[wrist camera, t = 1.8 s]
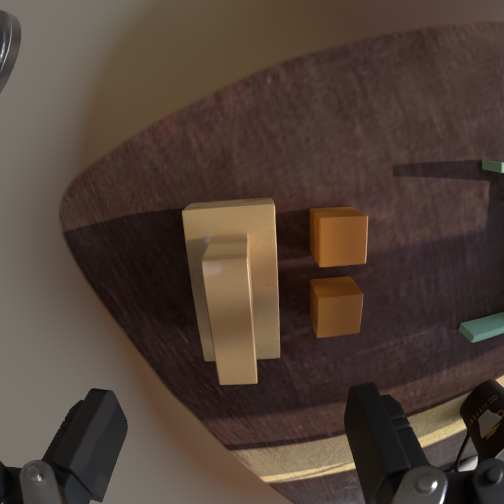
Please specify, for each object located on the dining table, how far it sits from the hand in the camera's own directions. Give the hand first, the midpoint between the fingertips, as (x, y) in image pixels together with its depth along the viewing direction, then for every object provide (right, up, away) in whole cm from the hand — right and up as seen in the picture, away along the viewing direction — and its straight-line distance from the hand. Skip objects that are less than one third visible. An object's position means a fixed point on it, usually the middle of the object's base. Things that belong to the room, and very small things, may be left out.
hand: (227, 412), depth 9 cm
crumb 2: (+6, +2, +13) cm, 14 cm away
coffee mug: (+29, -14, +18) cm, 37 cm away
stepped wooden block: (0, +4, +12) cm, 13 cm away
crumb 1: (+6, +7, +11) cm, 14 cm away
